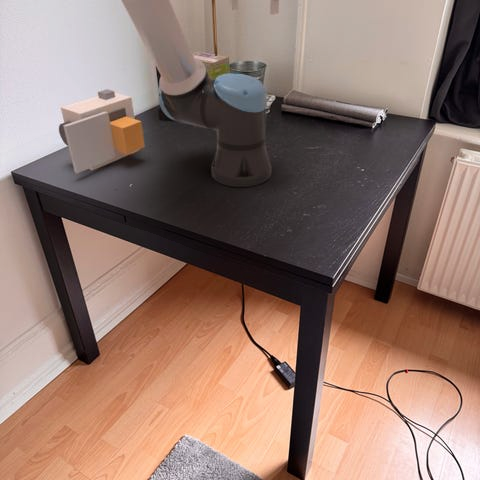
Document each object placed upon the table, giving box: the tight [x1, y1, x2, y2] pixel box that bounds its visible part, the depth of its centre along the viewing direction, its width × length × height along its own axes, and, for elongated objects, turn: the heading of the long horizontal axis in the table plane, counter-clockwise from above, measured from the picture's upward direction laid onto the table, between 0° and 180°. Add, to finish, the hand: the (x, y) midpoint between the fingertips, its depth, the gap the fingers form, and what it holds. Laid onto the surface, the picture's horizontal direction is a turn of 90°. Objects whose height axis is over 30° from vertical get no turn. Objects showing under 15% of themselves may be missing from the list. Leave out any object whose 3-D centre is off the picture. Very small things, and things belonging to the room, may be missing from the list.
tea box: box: [192, 50, 230, 79], centre depth 161 cm, size 15×10×15 cm, turn 55°
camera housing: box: [58, 89, 140, 171], centre depth 119 cm, size 9×18×16 cm, turn 142°
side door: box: [63, 112, 146, 174], centre depth 113 cm, size 6×18×12 cm, turn 142°
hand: (253, 11), depth 121 cm, fingers open, 13 cm apart
